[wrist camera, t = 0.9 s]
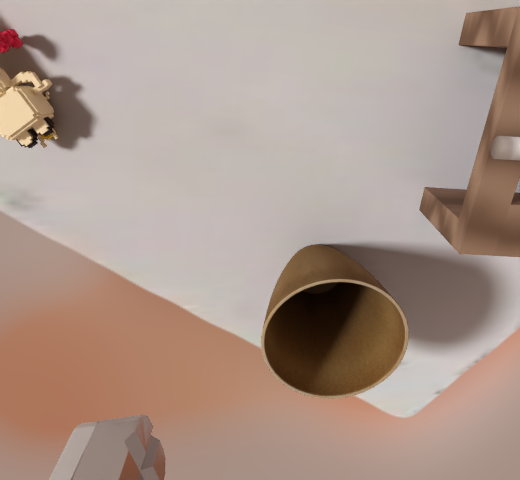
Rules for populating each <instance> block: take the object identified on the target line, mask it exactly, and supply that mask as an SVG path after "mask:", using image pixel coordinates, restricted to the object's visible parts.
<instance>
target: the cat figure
mask: <svg viewBox="0 0 520 480" xmlns="http://www.w3.org/2000/svg"><path fill="white" fill-rule="evenodd" d="M22 44H23V43H22V41H21V40H20V39H19V38H18V34H17V33H16V31H15V30H12V29H9V30H7V31H4V32H3V33H2V32H0V51H1V53H4V52H5V51H8V50H9V48H10V46H12V47H13V48H20V47H21V46H22ZM21 82H23V83H26V82H32V83H33V84H34V85H35V87H31V86H17V85H19V84H20V83H21ZM51 85H53V84H52V83H51V81H50V80H49V79H45V80H43V81H42V82H41V80H40V79H39V78H38V76H37V75H36V74H35V72H31V71H27V72H20V73H19V74H18V75H16V76H15V77H14V78H13V79H10V78H9V77H8V75H7V74H6V73H5V71H4V70H3V69H1V68H0V134H1V135H2V136H3V138H4V137H5V138H6V139H10V140H15V139H16V140H17V141H18V143H19V144H20V145H21V146H25V147H29V148H31V147H33V146H35V145H36V144H37V141H36V140H38V139H39V140H40V141H41V143H40V144H41V145H42V146H43V147H44V148H45V147H46V146H47V145H46V144H45V143H44V138H46V139H47V140H48V139H50V138H52V137H54V138H55V139H57V138H58V136H57V135H56V134H55V133H56V132H55V130H54V129H53V128H54V127H53V126H52V125H53V124H54V123H53V122H52V121H51V118H53V116H54V115H53V112H54V111H53V107H52V106H51V105H50V103H49V102H48V101H47V100H48V99H49V98H50V97H49V96H48V95H50V93H49V92H46V93H45V94H46V95H47V96H46V97H44V95H43V94H42V92H44V91H46V90H47V89H49V88H50V86H51ZM37 138H38V139H37Z"/></svg>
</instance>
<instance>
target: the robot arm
mask: <svg viewBox="0 0 520 480" xmlns="http://www.w3.org/2000/svg"><path fill="white" fill-rule="evenodd" d="M152 429H153V425H152V423H151V421H150V419H149V417H148V416H146V415H139V416H132V417H124V418H116V419H110V420H102V421H98V422H90V423H83V424H79V425H78V426H77V427H76V428H75V429H74V430H73V432H72V434H71V436H70V438H69V440H68V442H67V444H66V446H65V448H64V450H63V453H62V454H61V456H60V458H59V461H58V463H57V465H56V467H55V469H54V471H53V473H52V475H51V477H50V479H49V480H164V476H165V455H164V450H163V447H162V445H161V442H160V440H158V439H157V438H155V437H153V436H152V435H151V432H152Z"/></svg>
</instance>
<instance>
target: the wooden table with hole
mask: <svg viewBox="0 0 520 480" xmlns="http://www.w3.org/2000/svg"><path fill="white" fill-rule="evenodd" d="M459 45H469V46H484V47H499V48H507V50H506V54H505V57H504V61H503V64H502V68H501V71H500V75H499V78H498V82H497V86H496V89H495V93H494V96H493V100H492V103H491V107H490V110H489V114H488V117H487V121H486V124H485V128H484V131H483V135H482V138H481V142H480V145H479V149H478V152H477V156H476V160H475V163H474V167H473V170H472V174H471V177H470V181H469V184H468V188H467V190H461V189H444V188H427V187H425V189H424V193H423V197H422V201H421V205H420V211H421V212H422V213H423V215H424V216H425V217H426V218H427V219H428V220H429V221H430V222H431V223H432V224H433V225H434V227H435V228H436V229H437V230H438V231H439V232H440V233H441V234H442V235H443V236H444V238H445V239H446V240H447V241H448V242H449V243H450V244H451V245H452V246H453V247H454V249H455V250H456V251H457V252H458V253H459V254H474V255H492V256H509V257H520V193H515V190H516V187H517V184H518V181H519V178H520V7H512V8H504V9H496V10H488V11H479V12H471V13H466V16H465V21H464V25H463V29H462V33H461V37H460V42H459Z"/></svg>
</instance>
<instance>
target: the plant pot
mask: <svg viewBox="0 0 520 480" xmlns="http://www.w3.org/2000/svg"><path fill="white" fill-rule="evenodd" d="M312 286H314V287H312ZM408 339H409V331H408V324H407V320H406V317H405V315H404V313H403V311H402V309H401V308H400V306H399V305H398V303H397V302H396V301H395V300H394V299H393V297H392V296H391V295H390V294H389V293H388V292H387V291H386V289H385V288H384V287H383V286H382V285H381V284H380V283H379V282H378V281H377V280H376V279H375V278H374V277H373V276H372V275H371V274H370V273H369V272H368V271H367V270H366V269H365V268H363V267H362V266H361V265H360V264H358V263H357V262H356V261H354V260H353V259H351V258H350V257H348V256H347V255H345V254H343V253H342V252H340V251H338V250H336V249H333V248H331V247H328V246H325V245H310V246H307V247H304V248H303V249H301V250H299V251H298V252H297V253H296V254H295V255H294V256H293V257H292V258H291V260H290V261H289V262H288V264H287V265H286V267H285V268H284V270H283V272H282V273H281V275H280V277H279V279H278V281H277V284H276V286H275V288H274V291H273V294H272V296H271V299H270V303H269V306H268V310H267V314H266V318H265V322H264V326H263V331H262V336H261V348H262V353H263V357H264V360H265V363H266V365H267V366H268V368H269V370H270V371H271V372H272V374H273V375H274V376H275V377H276V378H277V379H278V380H279V381H280V382H281V383H283V384H284V385H285V386H287V387H289V388H290V389H292V390H294V391H296V392H298V393H301V394H304V395H307V396H311V397H318V398H343V397H348V396H353V395H356V394H359V393H362V392H365V391H367V390H369V389H371V388H373V387H375V386H376V385H378V384H380V383H381V382H382V381H384V380H385V379H386V378H387V377H388V376H390V375H391V374H392V372H393V371H394V370H395V369H396V368H397V367H398V365H399V364H400V362H401V360H402V359H403V357H404V354H405V352H406V349H407V345H408Z"/></svg>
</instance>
